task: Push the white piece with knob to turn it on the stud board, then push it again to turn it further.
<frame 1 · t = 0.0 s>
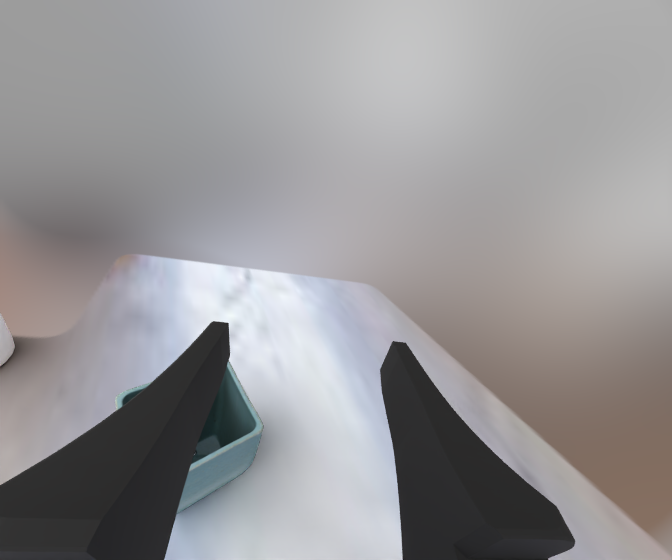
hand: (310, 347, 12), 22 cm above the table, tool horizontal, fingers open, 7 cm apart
flower pot: (197, 470, 26), on the table
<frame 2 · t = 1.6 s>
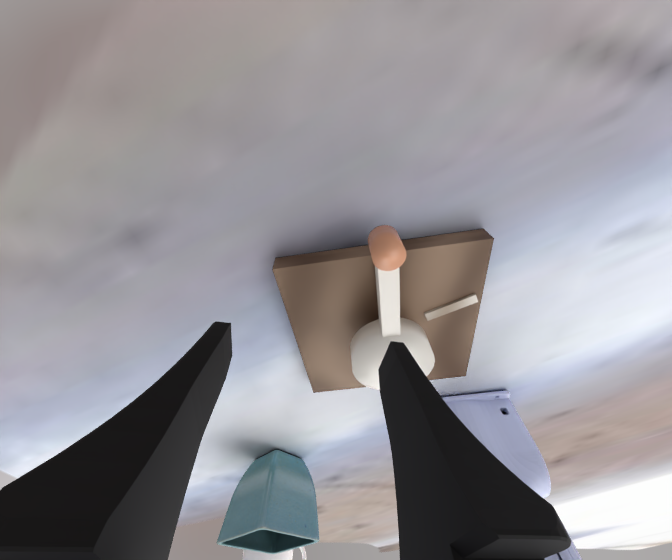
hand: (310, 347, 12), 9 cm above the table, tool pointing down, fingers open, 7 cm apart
flower pot: (279, 457, 40), on the table
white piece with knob: (389, 321, 19), point 4 cm above the table, hinge at 0.0°
mug: (278, 522, 57), on the table
stud board: (382, 318, 24), on the table
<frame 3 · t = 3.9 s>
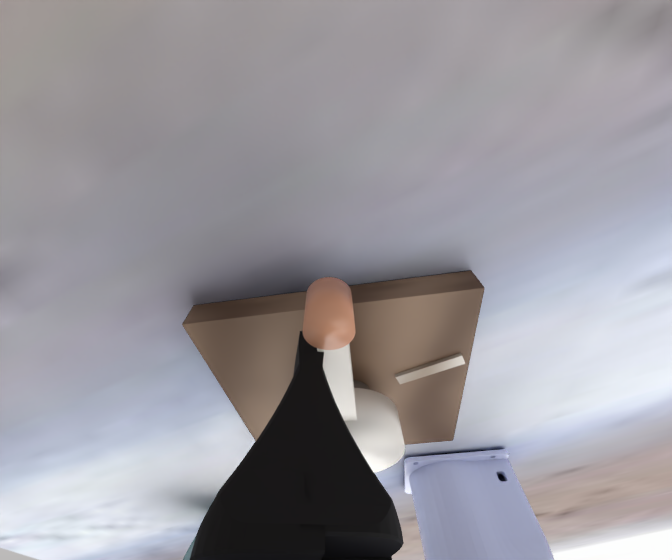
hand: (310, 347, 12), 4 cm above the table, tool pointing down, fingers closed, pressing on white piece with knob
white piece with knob: (342, 399, 14), point 4 cm above the table, hinge at 2.3°, touching gripper
stud board: (345, 374, 19), on the table
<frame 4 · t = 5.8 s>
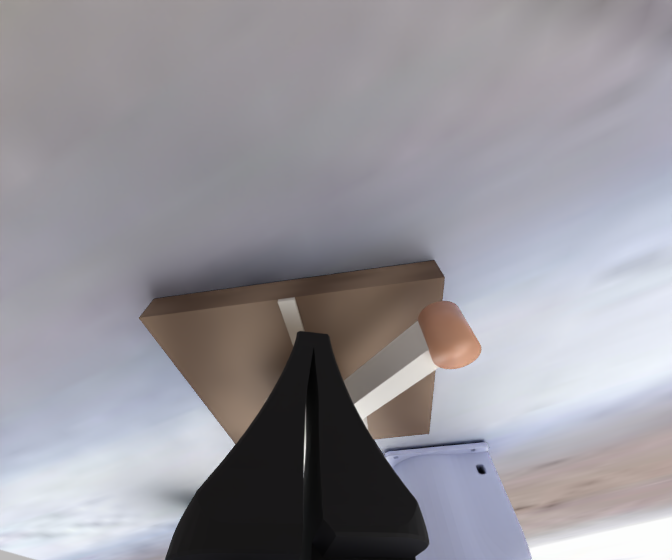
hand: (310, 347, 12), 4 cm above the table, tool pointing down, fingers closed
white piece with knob: (355, 399, 14), point 4 cm above the table, hinge at 45.1°
stud board: (316, 368, 19), on the table
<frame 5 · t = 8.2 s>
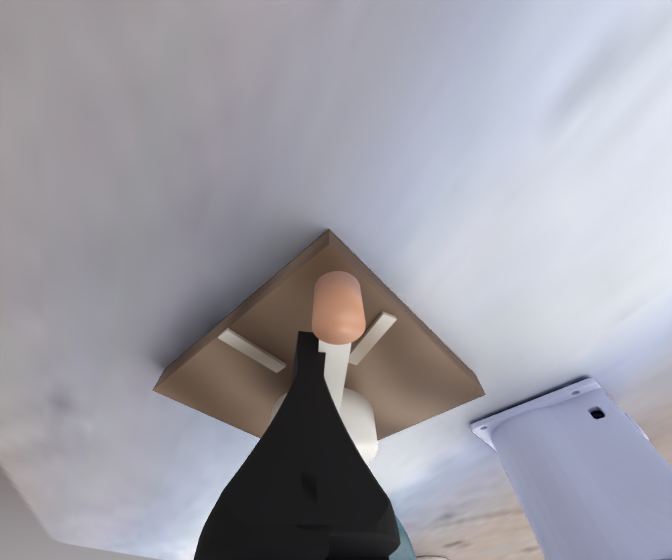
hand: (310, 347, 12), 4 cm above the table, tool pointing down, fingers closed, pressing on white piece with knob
flower pot: (367, 511, 36), on the table
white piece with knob: (326, 396, 13), point 4 cm above the table, hinge at 47.3°, touching gripper
mug: (430, 559, 52), on the table
stud board: (323, 372, 19), on the table
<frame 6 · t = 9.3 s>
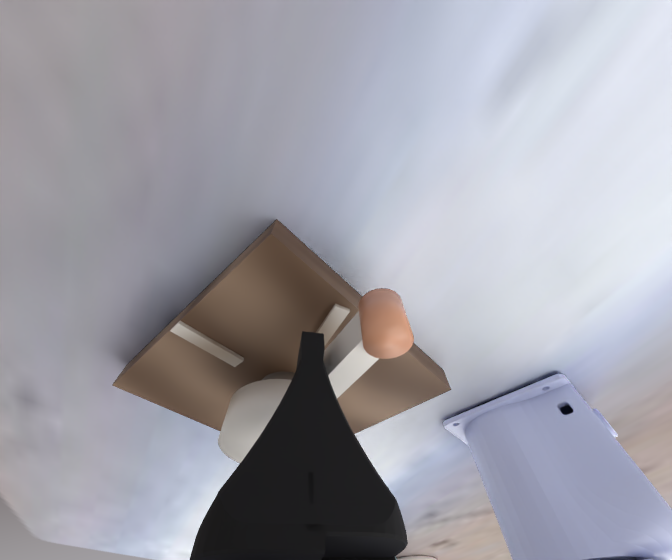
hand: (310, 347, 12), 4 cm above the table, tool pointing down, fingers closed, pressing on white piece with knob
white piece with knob: (311, 395, 14), point 4 cm above the table, hinge at 73.8°, touching gripper
mug: (419, 558, 51), on the table
stud board: (288, 367, 19), on the table
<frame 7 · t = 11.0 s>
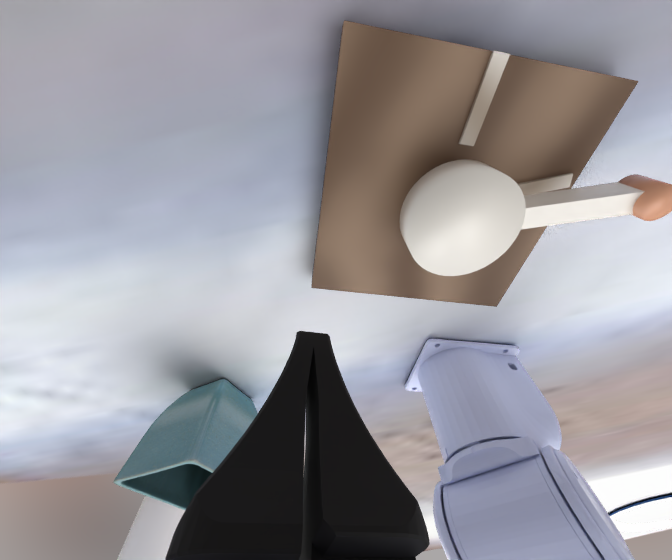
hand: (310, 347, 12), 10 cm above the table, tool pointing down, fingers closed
flower pot: (222, 393, 31), on the table
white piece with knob: (527, 212, 15), point 4 cm above the table, hinge at 73.5°
mug: (188, 489, 47), on the table
plate: (662, 507, 61), on the table
stud board: (434, 197, 19), on the table
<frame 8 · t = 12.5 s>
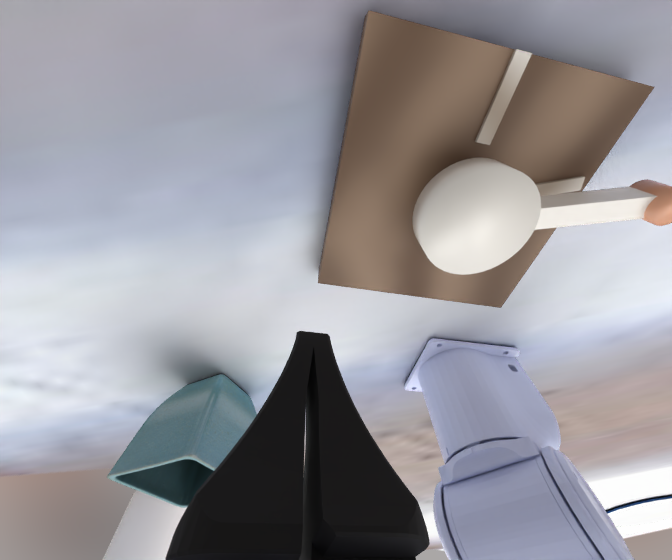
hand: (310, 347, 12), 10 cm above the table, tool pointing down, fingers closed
flower pot: (219, 389, 31), on the table
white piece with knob: (541, 213, 15), point 4 cm above the table, hinge at 73.5°
mug: (178, 486, 46), on the table
plate: (646, 510, 62), on the table
stud board: (446, 195, 19), on the table
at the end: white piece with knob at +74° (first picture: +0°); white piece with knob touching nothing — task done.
